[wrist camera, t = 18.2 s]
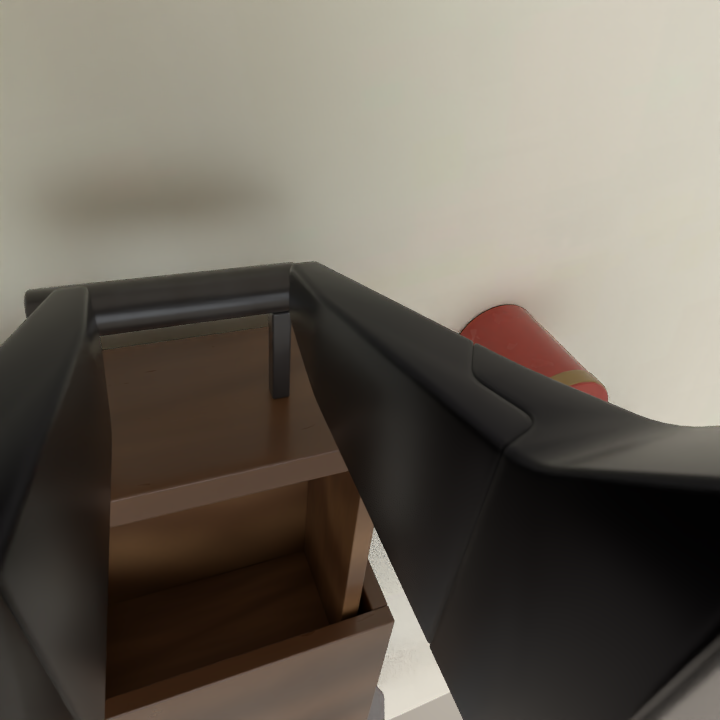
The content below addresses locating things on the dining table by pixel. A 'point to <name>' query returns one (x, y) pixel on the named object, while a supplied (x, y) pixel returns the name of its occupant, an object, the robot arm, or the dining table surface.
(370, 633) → the cabinet
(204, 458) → the drawer
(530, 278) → the dining table surface
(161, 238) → the dining table surface
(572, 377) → the tin
